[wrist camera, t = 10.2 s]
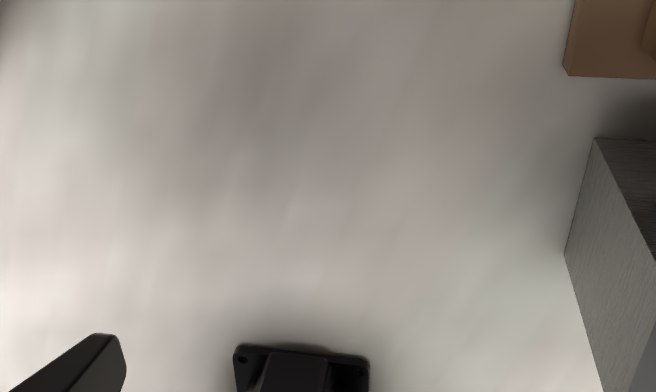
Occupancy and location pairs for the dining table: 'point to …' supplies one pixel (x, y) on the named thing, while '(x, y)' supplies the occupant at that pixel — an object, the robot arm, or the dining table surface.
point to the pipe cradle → (612, 39)
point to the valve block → (617, 262)
